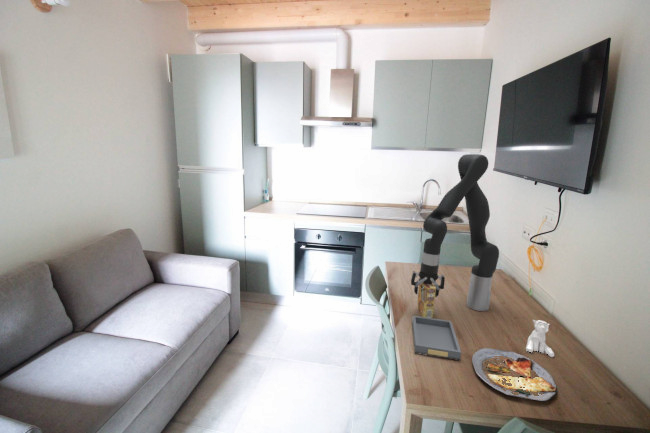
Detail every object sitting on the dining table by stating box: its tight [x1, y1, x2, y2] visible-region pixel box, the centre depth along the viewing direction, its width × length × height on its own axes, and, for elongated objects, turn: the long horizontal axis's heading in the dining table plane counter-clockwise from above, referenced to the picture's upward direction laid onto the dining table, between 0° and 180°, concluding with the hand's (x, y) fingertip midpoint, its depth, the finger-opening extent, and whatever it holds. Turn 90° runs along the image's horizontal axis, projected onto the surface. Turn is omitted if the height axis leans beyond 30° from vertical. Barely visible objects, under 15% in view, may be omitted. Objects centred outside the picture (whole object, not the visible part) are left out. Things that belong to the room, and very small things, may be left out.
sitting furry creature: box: [525, 319, 555, 358], centre depth 120 cm, size 10×9×12 cm
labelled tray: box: [411, 315, 462, 361], centre depth 124 cm, size 16×21×4 cm
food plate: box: [471, 347, 558, 402], centre depth 106 cm, size 25×23×4 cm
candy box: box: [416, 282, 436, 319], centre depth 142 cm, size 9×4×15 cm, turn 8°
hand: (425, 294), depth 141 cm, fingers open, 8 cm apart
